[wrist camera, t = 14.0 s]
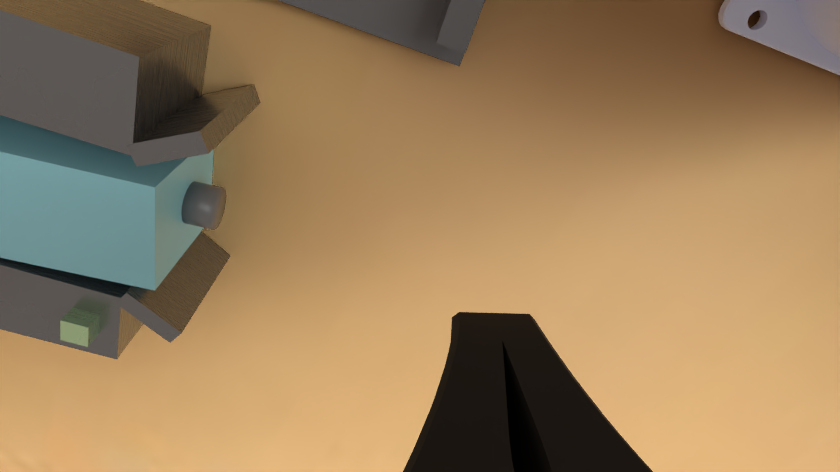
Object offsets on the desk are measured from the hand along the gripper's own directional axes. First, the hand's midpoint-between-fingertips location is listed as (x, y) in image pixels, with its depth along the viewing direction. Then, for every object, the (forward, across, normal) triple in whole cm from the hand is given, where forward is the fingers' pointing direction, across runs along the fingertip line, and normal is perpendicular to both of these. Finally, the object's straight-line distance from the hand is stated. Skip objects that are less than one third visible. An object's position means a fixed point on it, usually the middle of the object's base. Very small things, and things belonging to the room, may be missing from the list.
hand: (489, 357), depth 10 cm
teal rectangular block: (+10, +12, 0) cm, 16 cm away
